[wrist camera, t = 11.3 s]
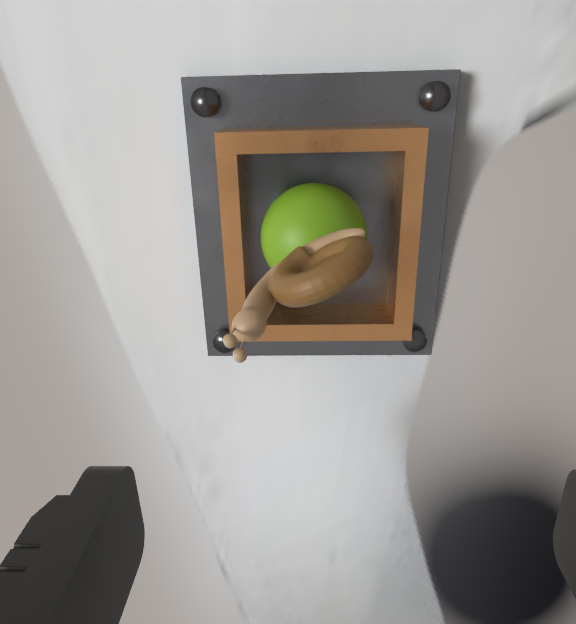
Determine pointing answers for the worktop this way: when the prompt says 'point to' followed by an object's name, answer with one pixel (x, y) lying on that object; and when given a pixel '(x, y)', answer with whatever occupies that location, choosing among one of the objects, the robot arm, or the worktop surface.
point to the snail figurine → (304, 256)
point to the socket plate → (333, 171)
